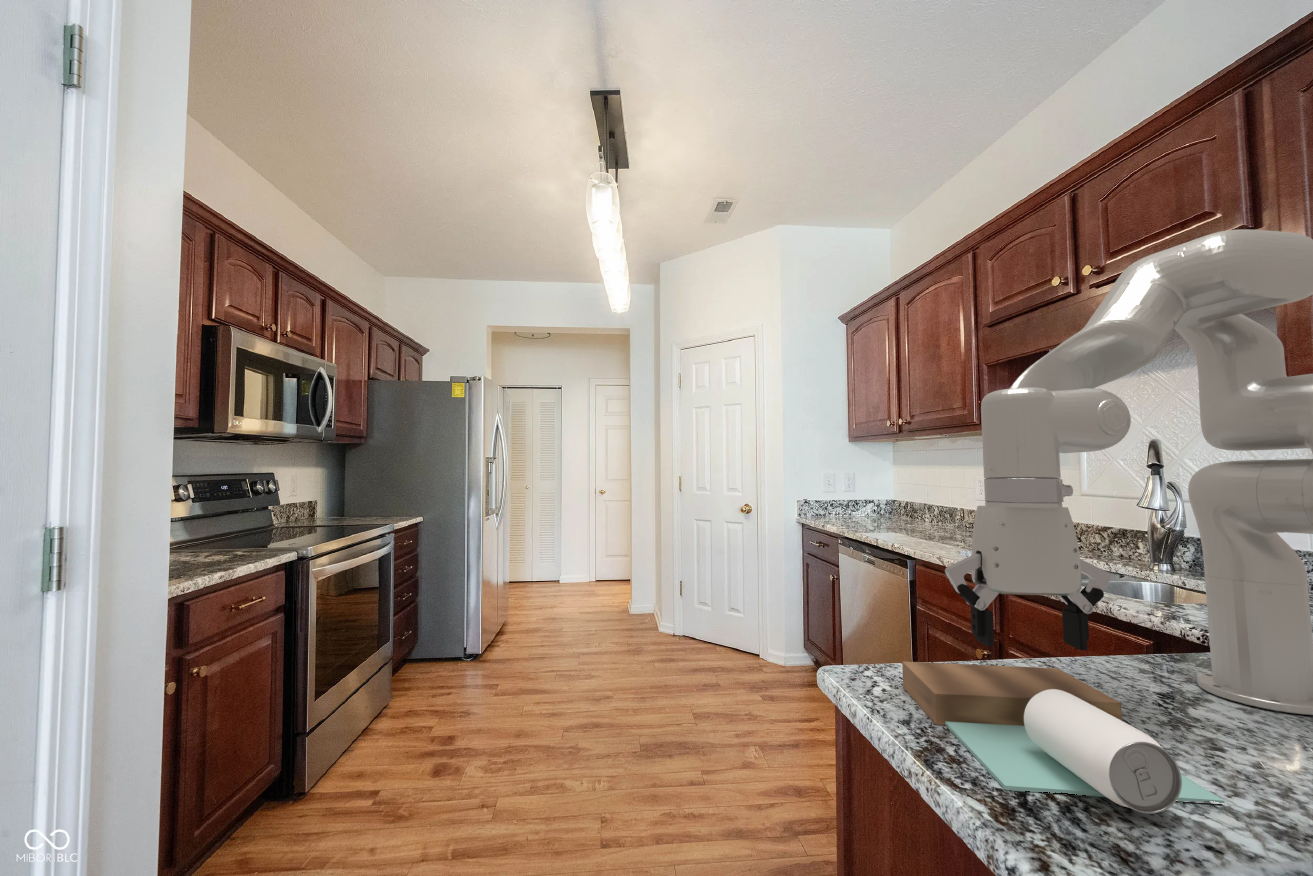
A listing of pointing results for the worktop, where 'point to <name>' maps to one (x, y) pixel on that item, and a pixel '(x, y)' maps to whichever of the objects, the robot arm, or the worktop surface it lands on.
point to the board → (990, 691)
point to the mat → (1036, 763)
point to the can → (1104, 751)
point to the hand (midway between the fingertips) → (1029, 645)
